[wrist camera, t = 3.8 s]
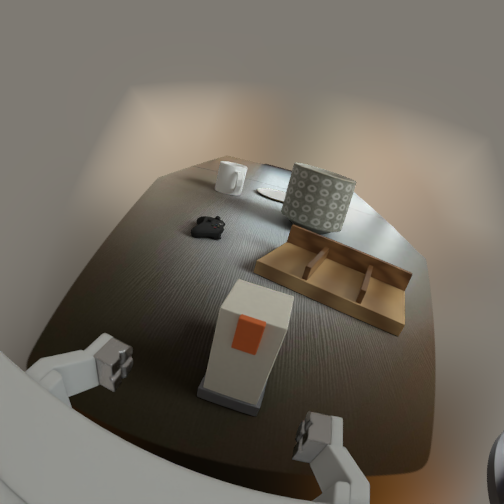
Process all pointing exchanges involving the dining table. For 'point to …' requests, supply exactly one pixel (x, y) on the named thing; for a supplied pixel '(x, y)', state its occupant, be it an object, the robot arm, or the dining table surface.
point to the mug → (230, 178)
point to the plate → (272, 194)
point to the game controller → (208, 227)
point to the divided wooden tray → (339, 278)
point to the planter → (317, 199)
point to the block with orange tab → (245, 346)
